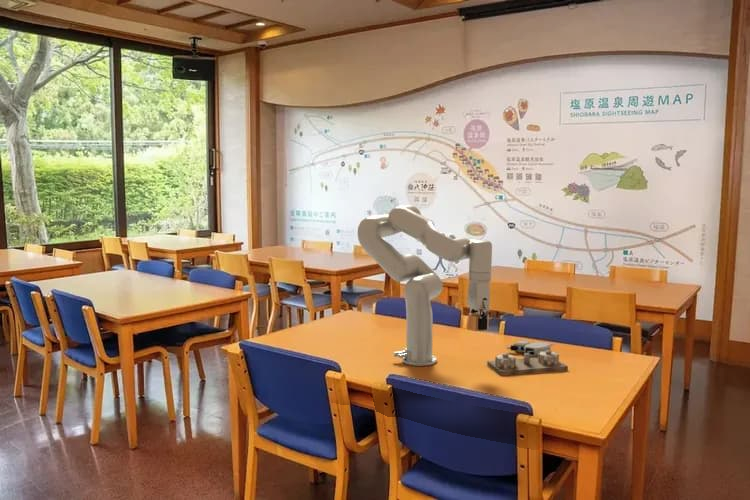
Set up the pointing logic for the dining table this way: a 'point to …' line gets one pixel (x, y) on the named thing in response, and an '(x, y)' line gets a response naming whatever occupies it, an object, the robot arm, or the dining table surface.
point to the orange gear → (475, 321)
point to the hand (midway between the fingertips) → (478, 326)
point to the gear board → (527, 368)
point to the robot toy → (530, 347)
